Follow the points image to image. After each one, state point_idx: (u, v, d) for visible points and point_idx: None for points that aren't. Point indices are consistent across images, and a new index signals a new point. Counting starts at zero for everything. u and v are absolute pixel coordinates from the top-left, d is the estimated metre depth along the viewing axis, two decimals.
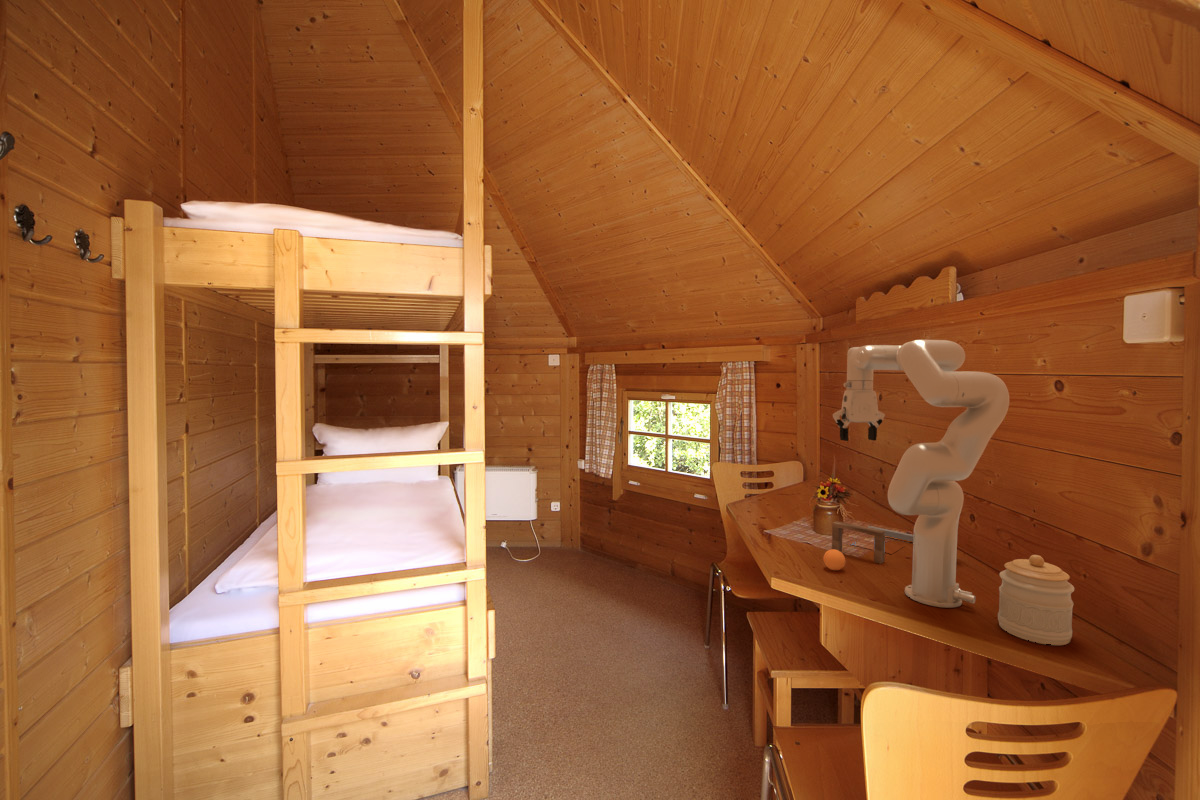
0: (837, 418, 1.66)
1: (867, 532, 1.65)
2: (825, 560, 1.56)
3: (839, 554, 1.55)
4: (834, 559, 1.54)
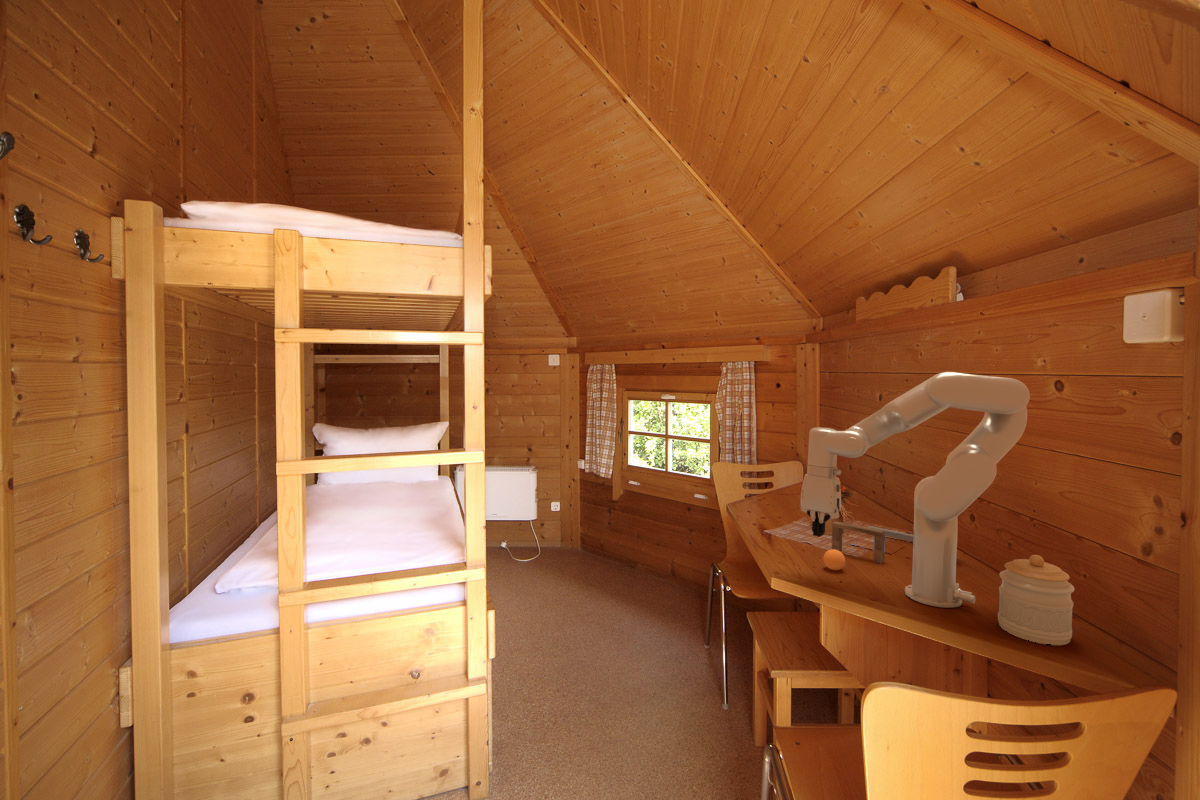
0: None
1: (867, 532, 1.65)
2: (825, 560, 1.56)
3: (839, 554, 1.55)
4: (834, 559, 1.54)
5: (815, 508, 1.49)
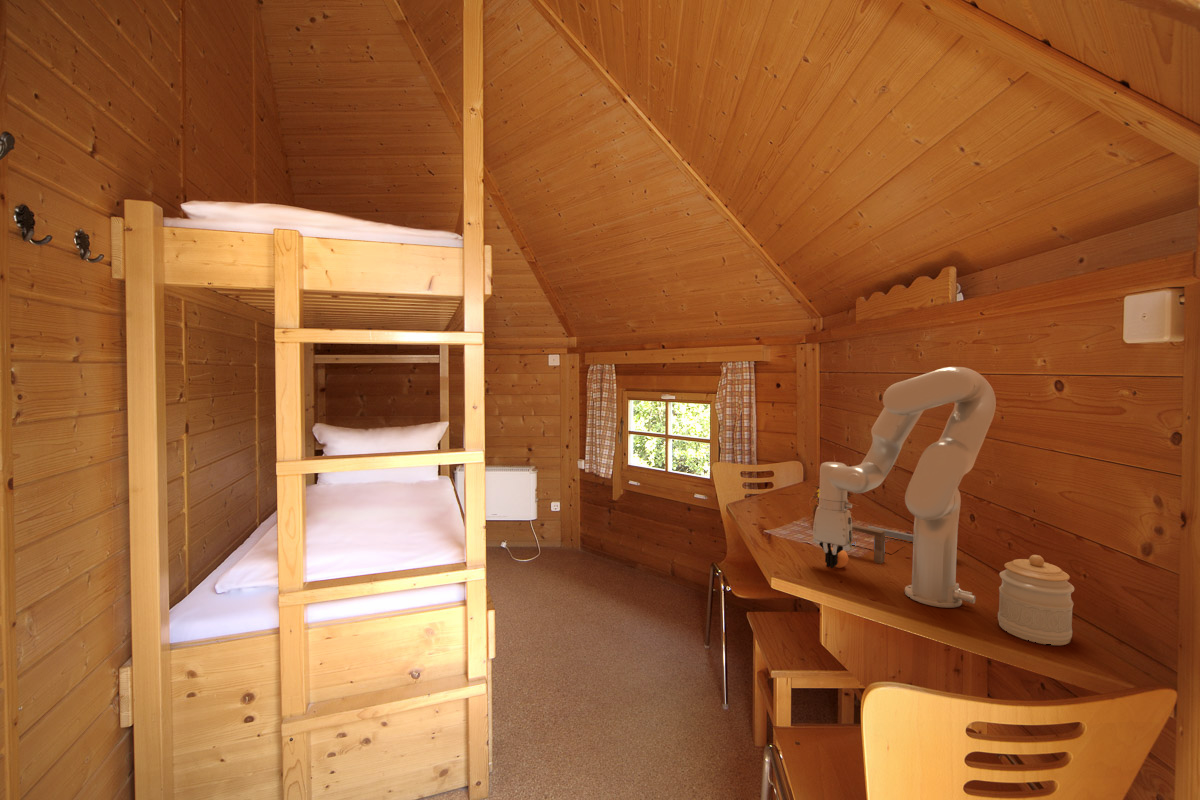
0: None
1: (867, 532, 1.65)
2: None
3: None
4: None
5: (828, 540, 1.54)
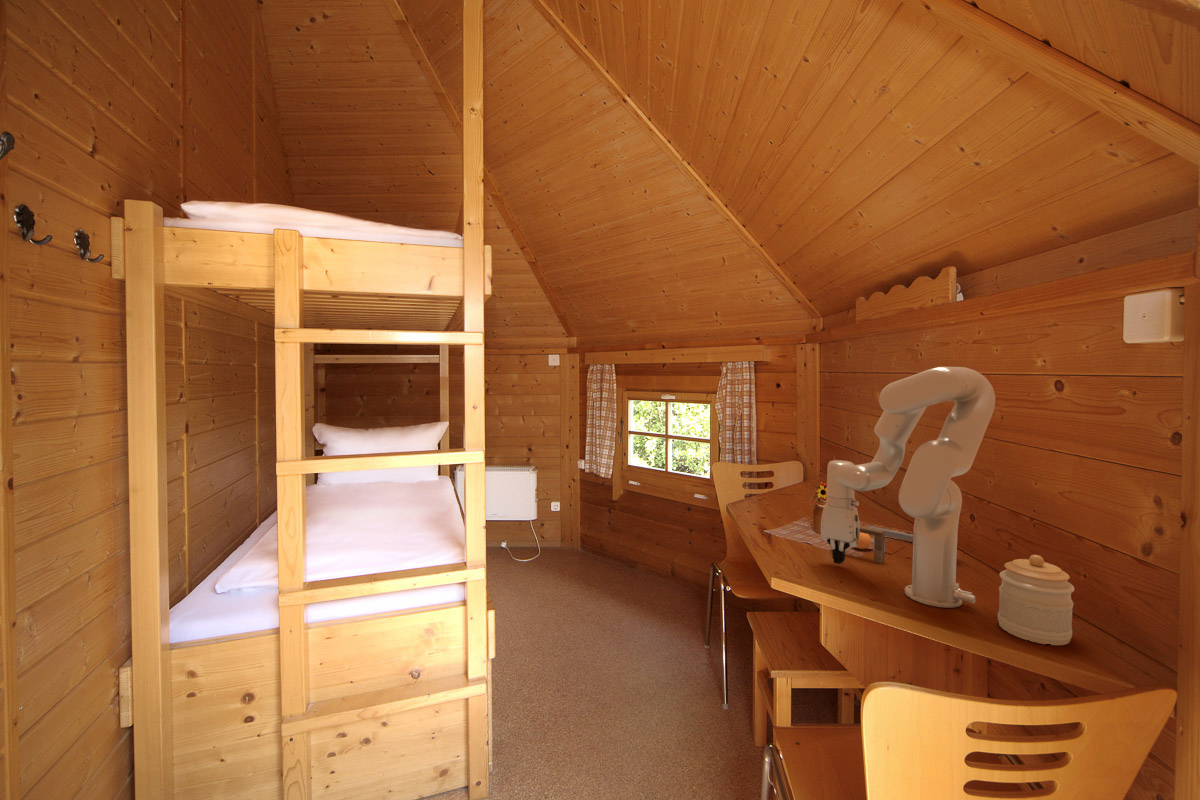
0: None
1: (867, 532, 1.65)
2: None
3: None
4: None
5: (835, 537, 1.57)
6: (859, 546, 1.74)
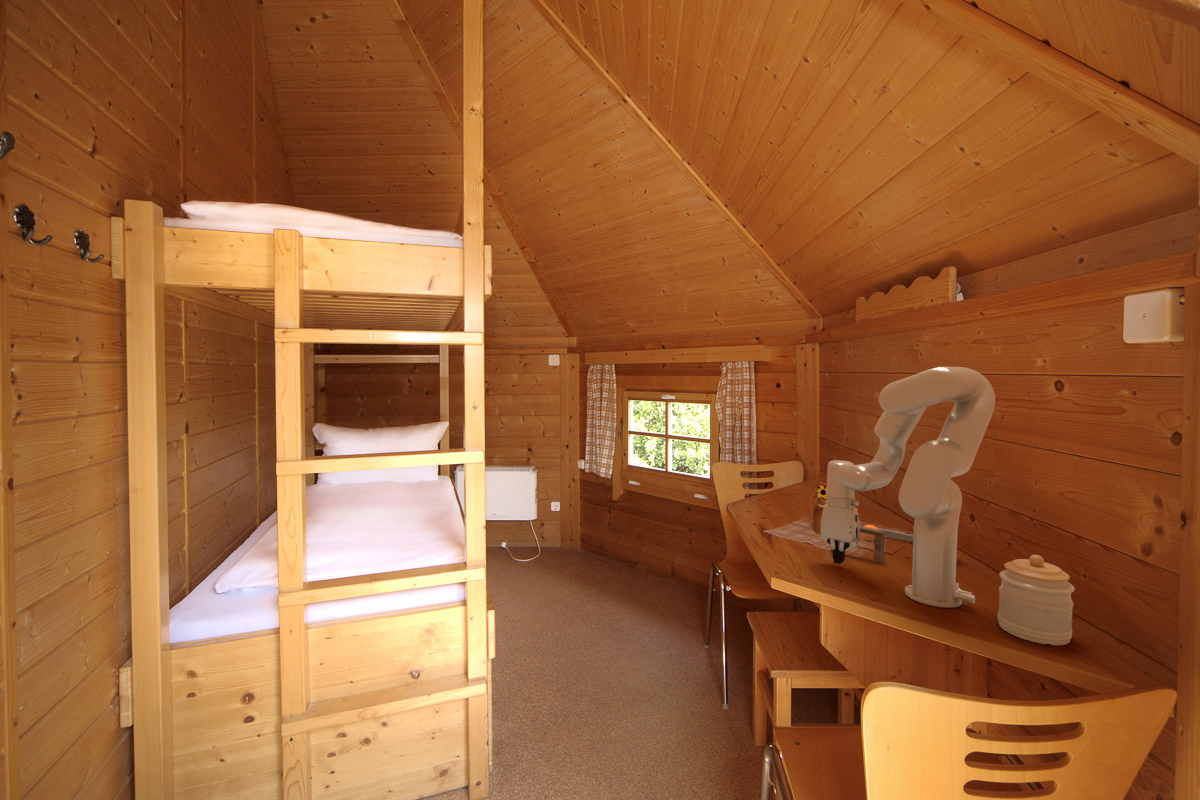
0: None
1: (867, 532, 1.65)
2: (863, 537, 1.84)
3: None
4: (870, 538, 1.81)
5: (835, 537, 1.57)
6: None
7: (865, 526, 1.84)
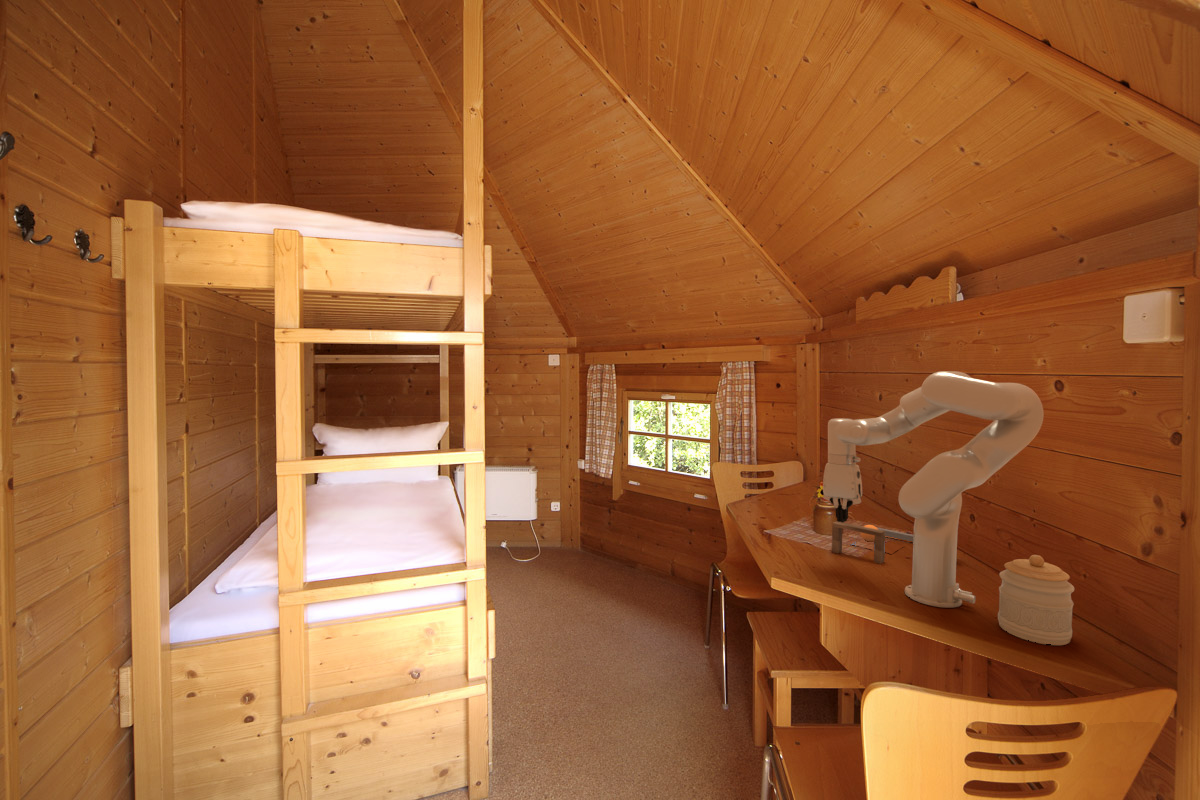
0: None
1: (867, 532, 1.65)
2: (863, 537, 1.84)
3: None
4: (870, 538, 1.81)
5: (838, 495, 1.56)
6: None
7: (865, 526, 1.84)
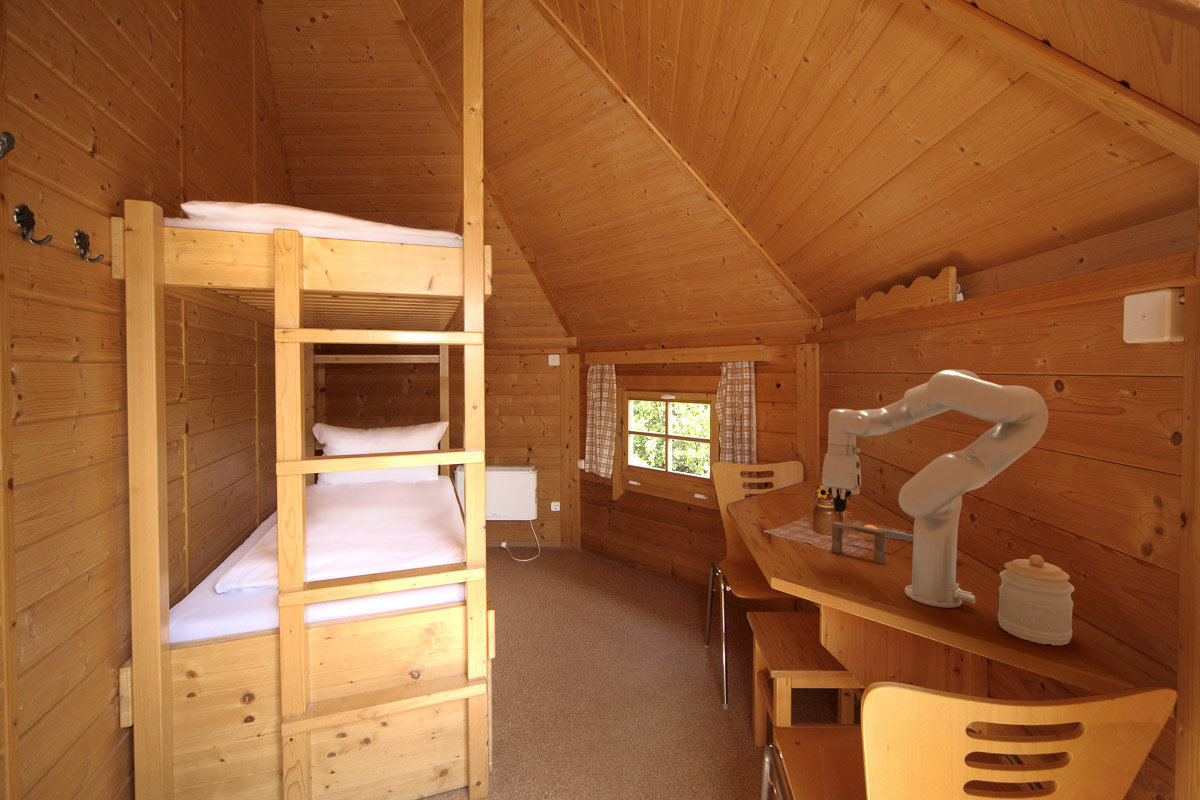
0: None
1: (867, 532, 1.65)
2: (863, 537, 1.84)
3: None
4: (870, 538, 1.81)
5: (836, 485, 1.57)
6: None
7: (865, 526, 1.84)
